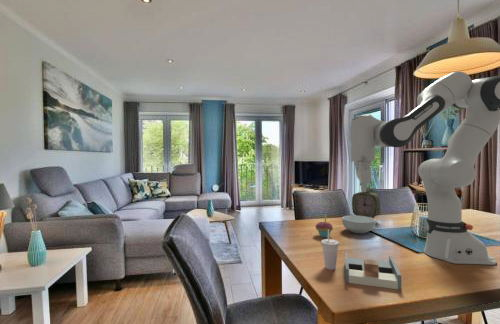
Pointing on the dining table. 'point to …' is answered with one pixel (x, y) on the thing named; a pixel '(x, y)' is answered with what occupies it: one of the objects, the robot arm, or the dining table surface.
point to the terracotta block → (371, 268)
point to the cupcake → (324, 228)
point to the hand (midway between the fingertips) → (363, 191)
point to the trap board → (387, 277)
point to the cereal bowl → (358, 223)
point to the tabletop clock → (366, 203)
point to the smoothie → (330, 252)
